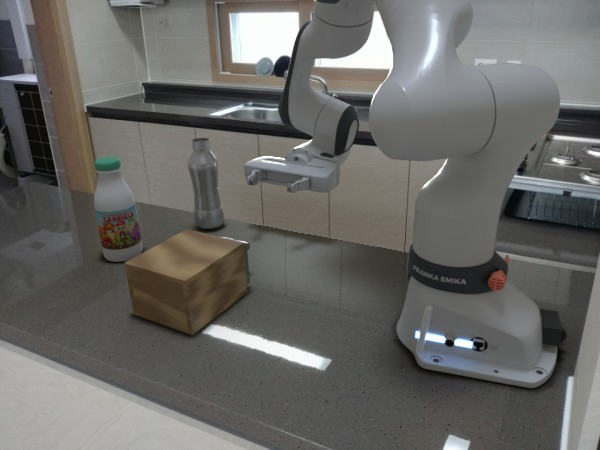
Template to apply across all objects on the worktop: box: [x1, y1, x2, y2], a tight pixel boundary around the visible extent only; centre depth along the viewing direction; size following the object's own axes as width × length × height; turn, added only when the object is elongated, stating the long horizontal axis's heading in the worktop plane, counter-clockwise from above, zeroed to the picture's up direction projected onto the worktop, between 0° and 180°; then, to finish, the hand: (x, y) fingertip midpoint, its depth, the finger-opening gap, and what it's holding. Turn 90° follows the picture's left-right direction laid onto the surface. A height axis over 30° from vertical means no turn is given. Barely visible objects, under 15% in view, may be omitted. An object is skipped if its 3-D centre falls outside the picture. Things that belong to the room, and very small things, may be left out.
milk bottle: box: [93, 156, 144, 263], centre depth 105 cm, size 8×8×20 cm
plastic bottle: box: [187, 137, 225, 230], centre depth 117 cm, size 6×7×20 cm
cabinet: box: [124, 228, 248, 336], centre depth 89 cm, size 15×13×10 cm
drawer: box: [195, 230, 251, 285], centre depth 93 cm, size 18×11×8 cm, turn 150°
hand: (269, 185), depth 106 cm, fingers open, 8 cm apart
